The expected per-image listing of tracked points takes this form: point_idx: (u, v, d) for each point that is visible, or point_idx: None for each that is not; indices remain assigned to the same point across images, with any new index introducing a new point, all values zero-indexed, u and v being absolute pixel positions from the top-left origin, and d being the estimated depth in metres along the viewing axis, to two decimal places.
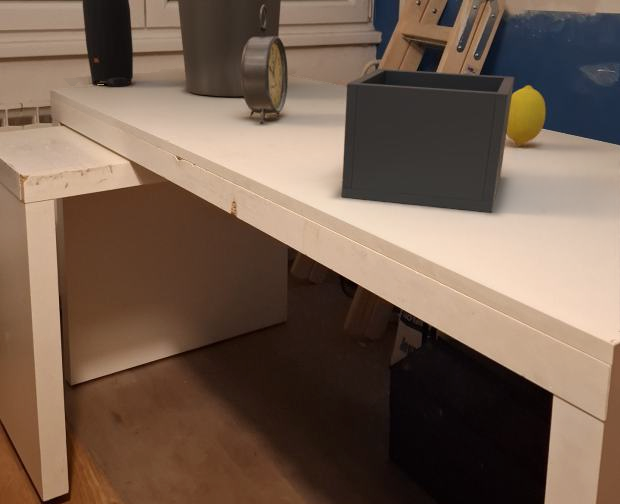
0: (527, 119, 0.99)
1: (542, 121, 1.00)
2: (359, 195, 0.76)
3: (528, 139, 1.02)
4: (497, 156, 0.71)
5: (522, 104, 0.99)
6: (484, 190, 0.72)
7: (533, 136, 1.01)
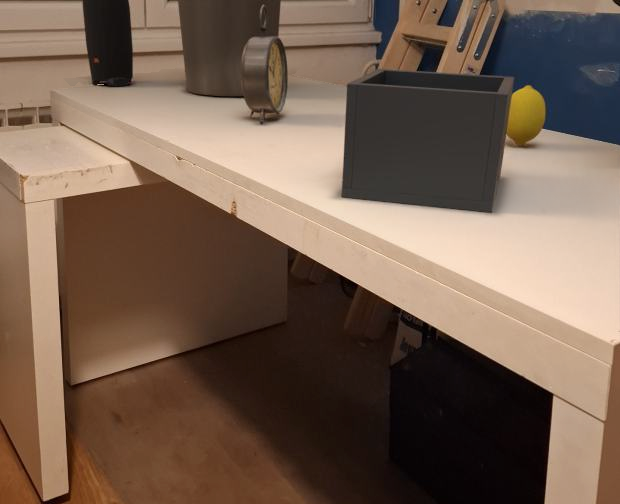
0: (527, 119, 0.99)
1: (542, 121, 1.00)
2: (359, 195, 0.76)
3: (528, 139, 1.02)
4: (497, 156, 0.71)
5: (522, 104, 0.99)
6: (484, 190, 0.72)
7: (533, 136, 1.01)
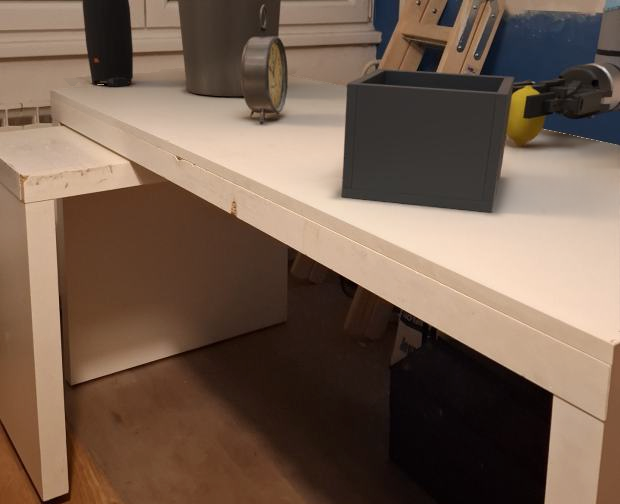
0: (527, 119, 0.99)
1: (542, 121, 1.00)
2: (359, 195, 0.76)
3: (528, 139, 1.02)
4: (497, 156, 0.71)
5: (522, 104, 0.99)
6: (484, 190, 0.72)
7: (533, 136, 1.01)
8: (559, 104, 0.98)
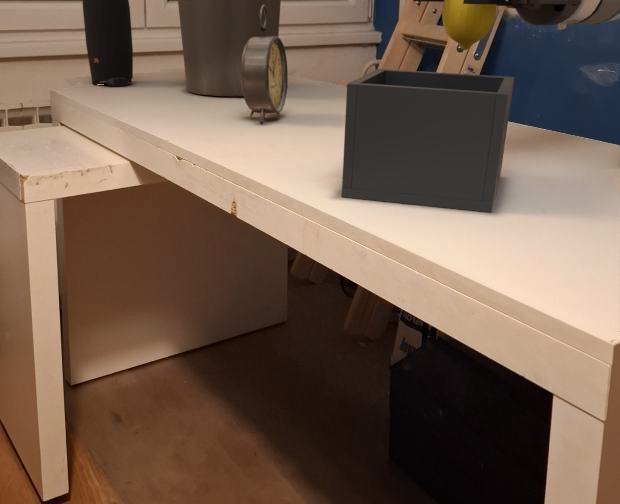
0: (471, 9, 0.77)
1: (491, 14, 0.78)
2: (359, 195, 0.76)
3: (474, 38, 0.79)
4: (497, 156, 0.71)
5: None
6: (484, 190, 0.72)
7: (480, 34, 0.79)
8: None
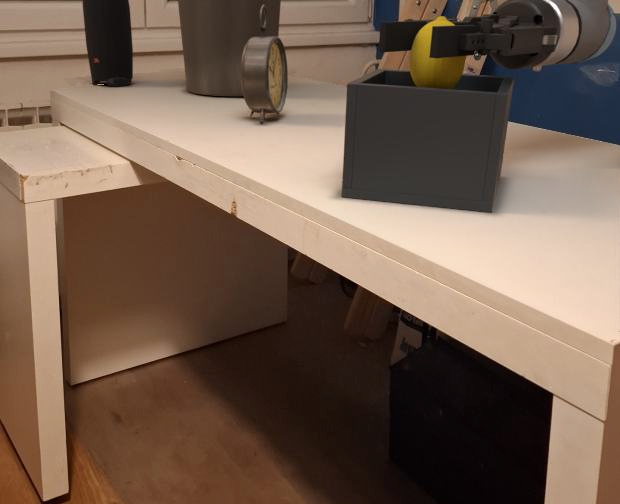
0: (439, 61, 0.73)
1: (460, 65, 0.74)
2: (359, 195, 0.76)
3: None
4: (497, 156, 0.71)
5: None
6: (484, 190, 0.72)
7: (449, 86, 0.75)
8: (481, 40, 0.72)
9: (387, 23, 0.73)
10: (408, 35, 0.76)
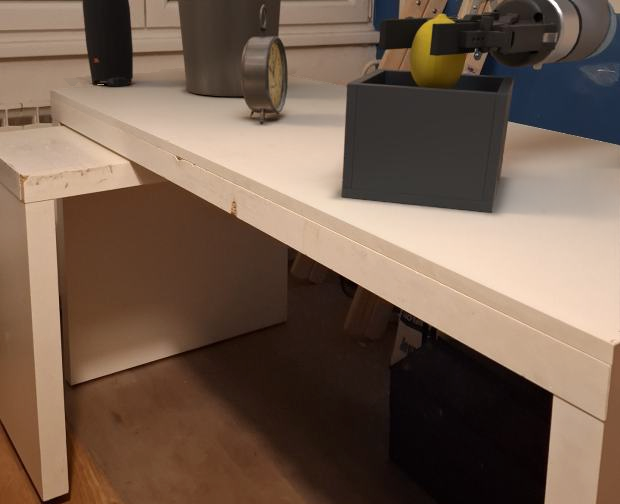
0: (439, 59, 0.73)
1: (461, 62, 0.74)
2: (359, 195, 0.76)
3: (443, 88, 0.76)
4: (497, 156, 0.71)
5: None
6: (484, 190, 0.72)
7: (449, 83, 0.75)
8: (481, 38, 0.72)
9: (387, 20, 0.73)
10: (408, 33, 0.75)
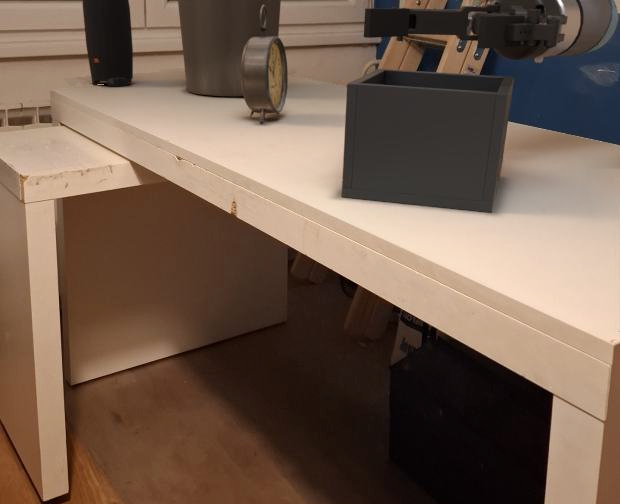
0: None
1: None
2: (359, 195, 0.76)
3: None
4: (497, 156, 0.71)
5: None
6: (484, 190, 0.72)
7: None
8: (528, 31, 0.71)
9: (371, 9, 0.76)
10: (392, 22, 0.79)
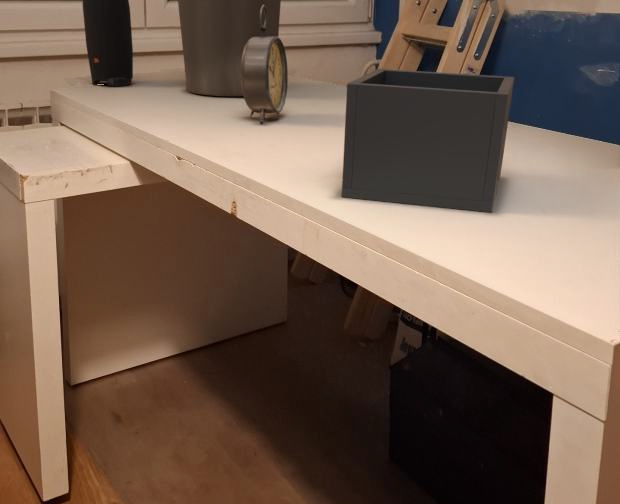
0: None
1: None
2: (359, 195, 0.76)
3: None
4: (497, 156, 0.71)
5: None
6: (484, 190, 0.72)
7: None
8: None
9: None
10: None
